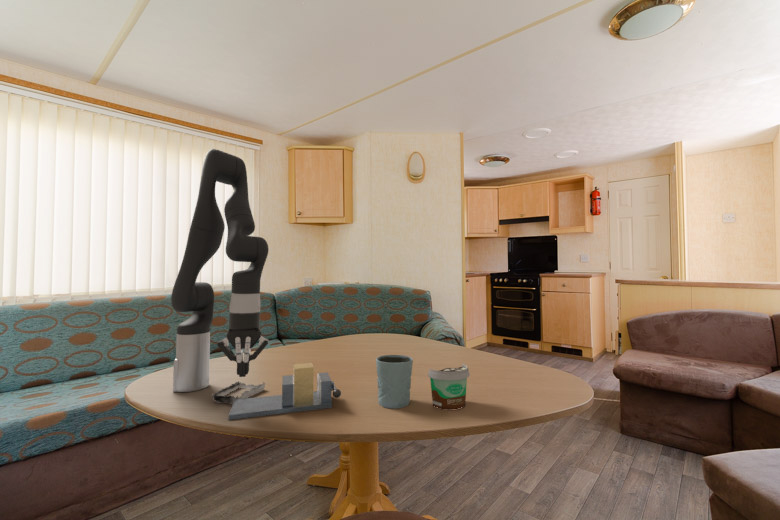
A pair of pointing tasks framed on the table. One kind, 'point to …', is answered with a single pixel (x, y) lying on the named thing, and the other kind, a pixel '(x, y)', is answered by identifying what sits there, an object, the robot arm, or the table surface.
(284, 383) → the sliding jaw
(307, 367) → the brass block
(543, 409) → the table surface
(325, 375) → the vise base
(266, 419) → the table surface
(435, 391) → the food container
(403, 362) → the blue embossed cup
